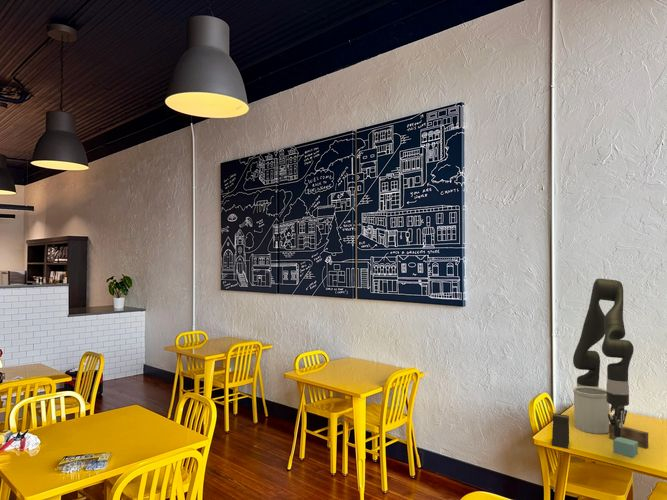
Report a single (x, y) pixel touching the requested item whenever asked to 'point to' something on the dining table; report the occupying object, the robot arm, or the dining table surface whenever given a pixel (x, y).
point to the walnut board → (631, 435)
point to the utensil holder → (591, 409)
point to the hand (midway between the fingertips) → (617, 436)
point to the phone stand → (560, 431)
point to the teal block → (625, 447)
